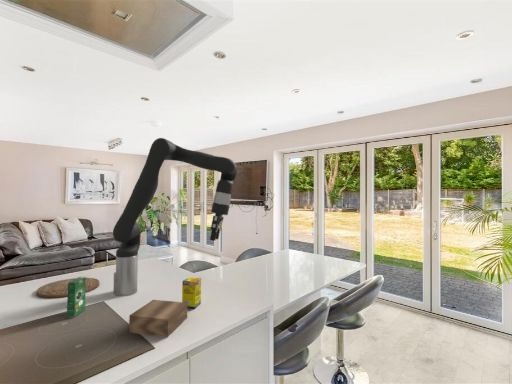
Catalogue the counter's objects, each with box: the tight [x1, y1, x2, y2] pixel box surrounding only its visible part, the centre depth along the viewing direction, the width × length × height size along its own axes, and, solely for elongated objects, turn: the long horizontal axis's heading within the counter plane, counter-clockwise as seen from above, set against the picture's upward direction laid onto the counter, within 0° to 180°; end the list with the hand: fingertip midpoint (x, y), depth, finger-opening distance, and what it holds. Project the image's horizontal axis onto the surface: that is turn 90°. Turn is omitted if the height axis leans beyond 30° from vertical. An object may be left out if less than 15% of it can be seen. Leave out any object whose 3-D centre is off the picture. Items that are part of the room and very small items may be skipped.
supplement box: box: [181, 276, 202, 310], centre depth 113 cm, size 6×6×11 cm
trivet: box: [36, 277, 100, 299], centre depth 131 cm, size 25×25×2 cm
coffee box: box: [66, 276, 87, 319], centre depth 104 cm, size 8×3×13 cm, turn 6°
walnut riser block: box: [128, 299, 188, 338], centre depth 96 cm, size 14×14×6 cm
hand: (214, 239), depth 119 cm, fingers open, 8 cm apart
